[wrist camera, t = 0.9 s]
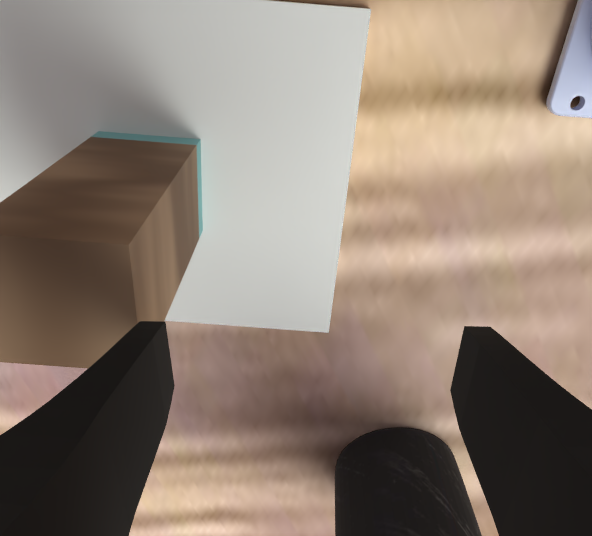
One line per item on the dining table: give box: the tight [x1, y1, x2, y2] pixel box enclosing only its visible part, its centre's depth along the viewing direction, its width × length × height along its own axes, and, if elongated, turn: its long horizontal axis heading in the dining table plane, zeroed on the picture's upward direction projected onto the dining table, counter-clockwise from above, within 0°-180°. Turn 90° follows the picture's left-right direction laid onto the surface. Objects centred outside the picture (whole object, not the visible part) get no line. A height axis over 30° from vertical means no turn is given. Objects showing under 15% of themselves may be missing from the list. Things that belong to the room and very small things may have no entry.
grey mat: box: [0, 0, 371, 333], centre depth 21 cm, size 18×14×1 cm
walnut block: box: [0, 131, 203, 368], centre depth 17 cm, size 4×4×9 cm
